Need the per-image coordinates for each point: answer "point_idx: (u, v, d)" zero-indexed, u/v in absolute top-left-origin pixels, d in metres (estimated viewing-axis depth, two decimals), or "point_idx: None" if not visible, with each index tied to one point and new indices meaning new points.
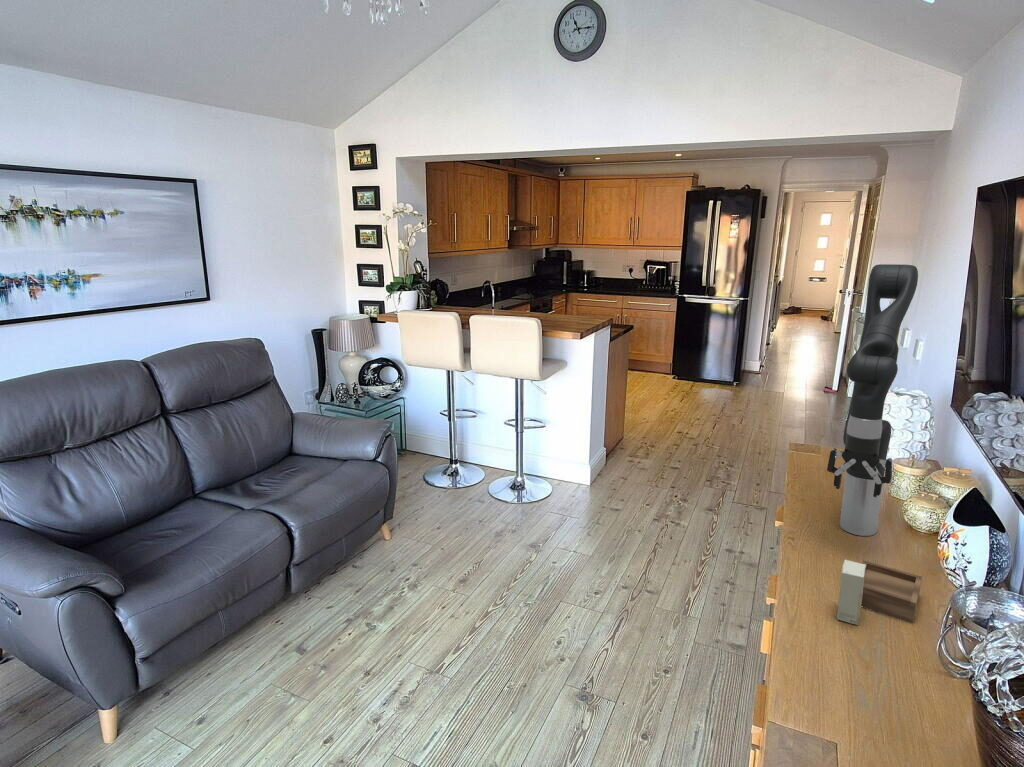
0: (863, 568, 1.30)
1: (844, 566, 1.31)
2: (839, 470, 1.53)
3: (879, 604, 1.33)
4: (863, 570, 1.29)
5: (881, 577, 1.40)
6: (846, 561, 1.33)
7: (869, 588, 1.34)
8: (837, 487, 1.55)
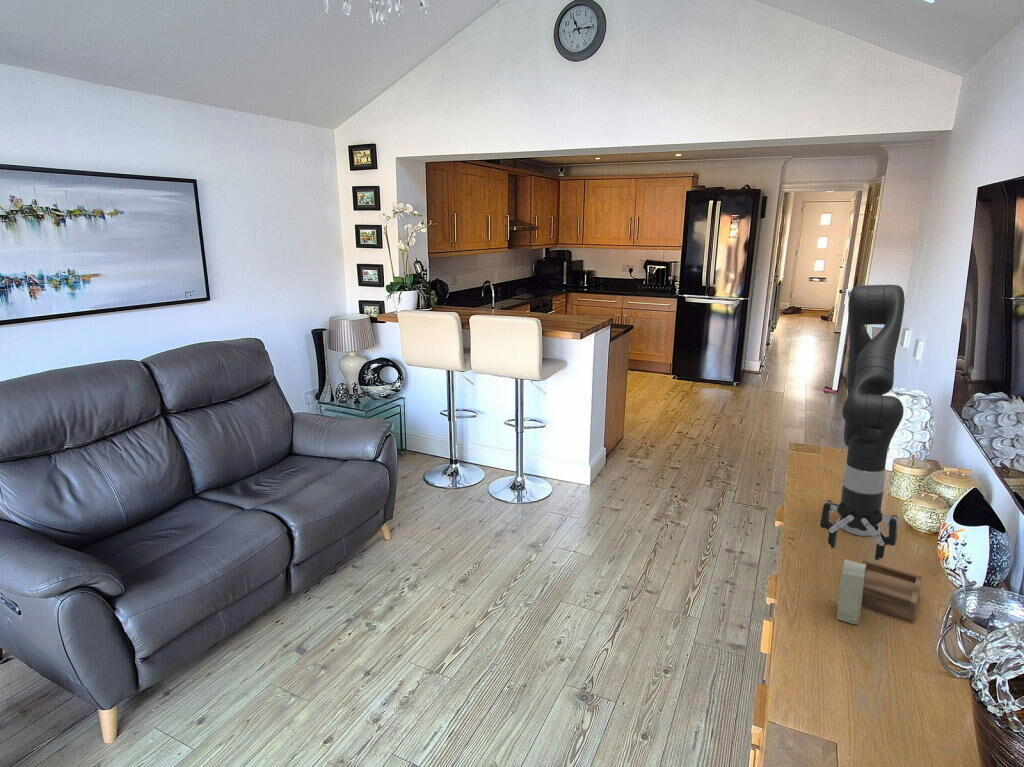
0: (863, 568, 1.30)
1: (844, 566, 1.31)
2: (834, 527, 1.29)
3: (879, 604, 1.33)
4: (863, 570, 1.29)
5: (881, 577, 1.40)
6: (846, 561, 1.33)
7: (869, 588, 1.34)
8: (832, 546, 1.31)
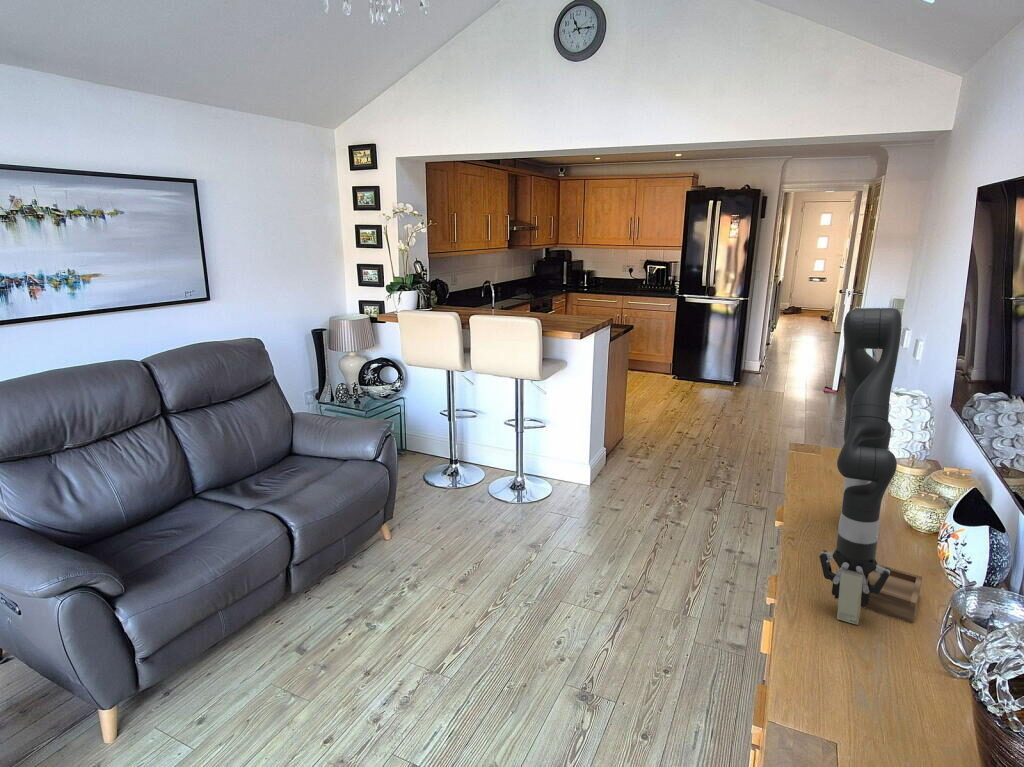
0: None
1: None
2: (838, 578, 1.31)
3: (879, 604, 1.33)
4: None
5: None
6: None
7: None
8: (836, 597, 1.33)
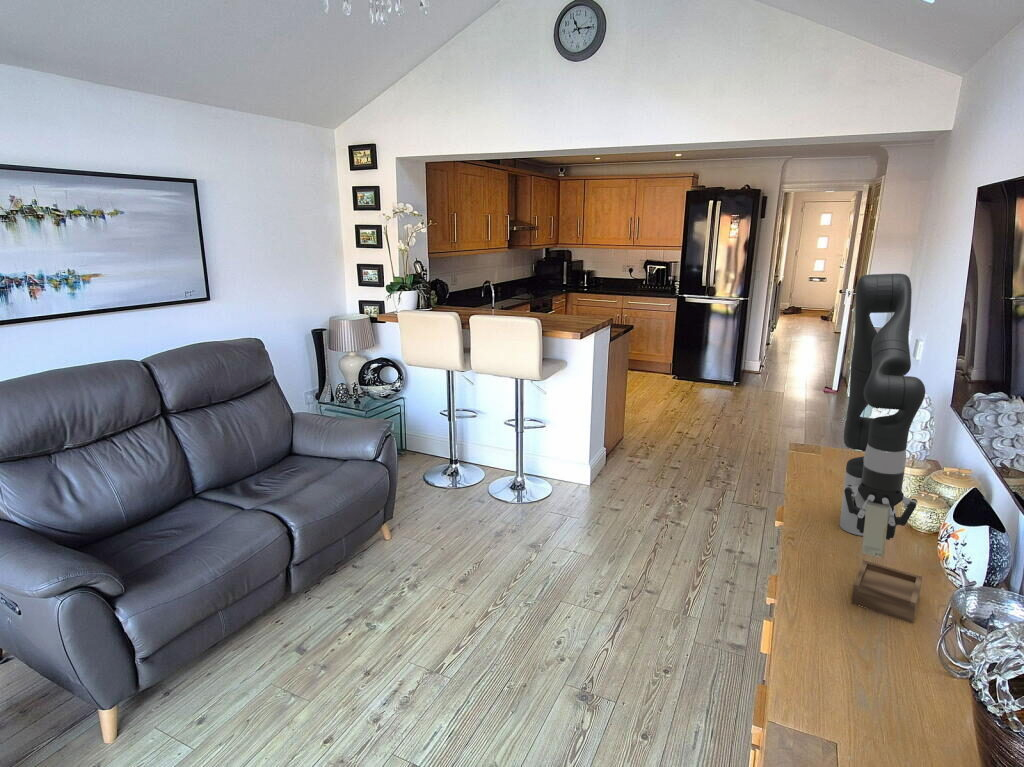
0: None
1: None
2: (863, 512, 1.30)
3: (878, 604, 1.33)
4: None
5: (881, 577, 1.40)
6: None
7: (869, 588, 1.34)
8: (861, 531, 1.32)
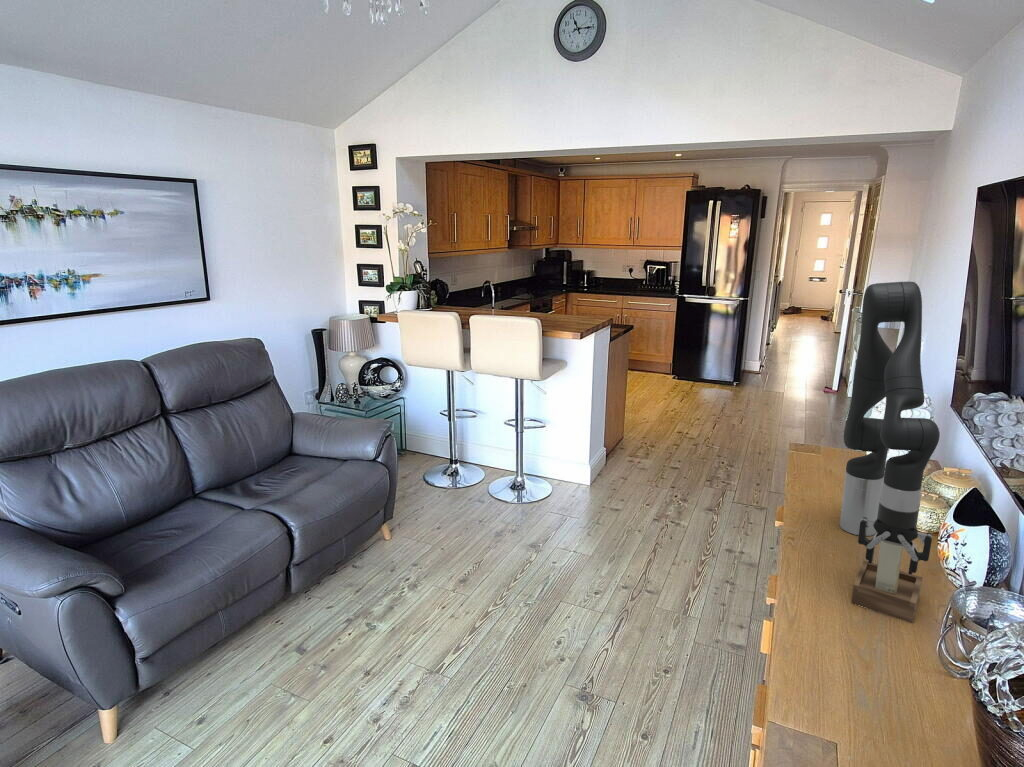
0: None
1: None
2: (872, 543, 1.36)
3: (878, 604, 1.33)
4: None
5: None
6: None
7: (869, 588, 1.34)
8: (870, 561, 1.37)
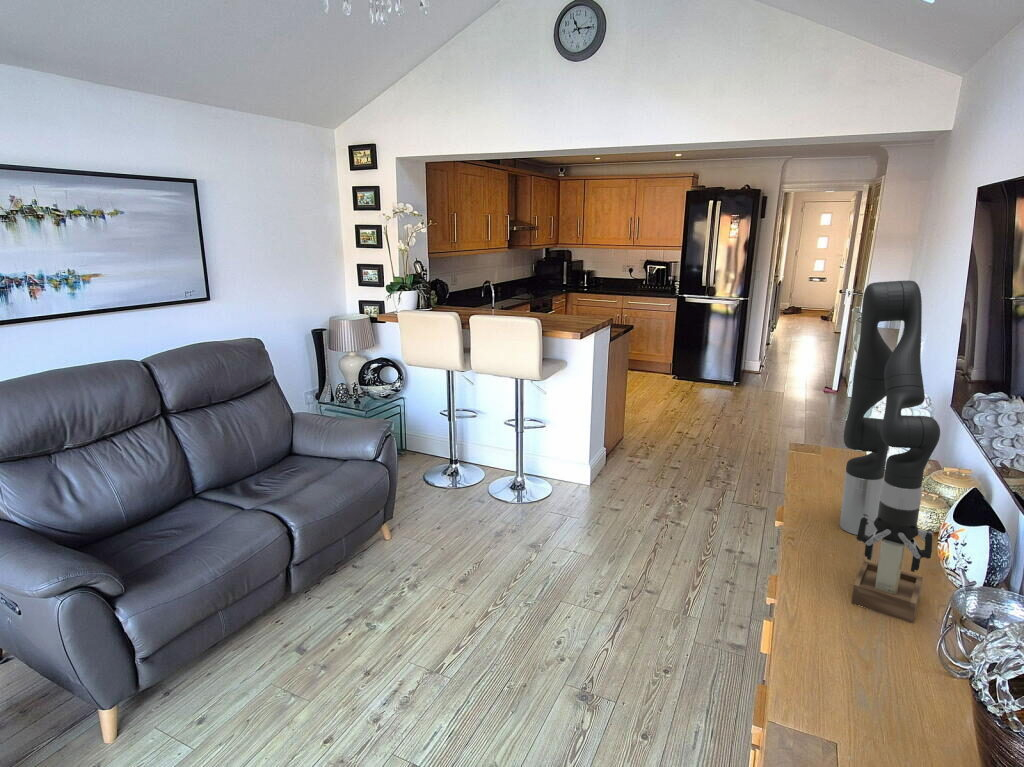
0: None
1: None
2: (871, 540, 1.36)
3: (879, 604, 1.33)
4: None
5: None
6: None
7: (869, 588, 1.34)
8: (869, 558, 1.37)
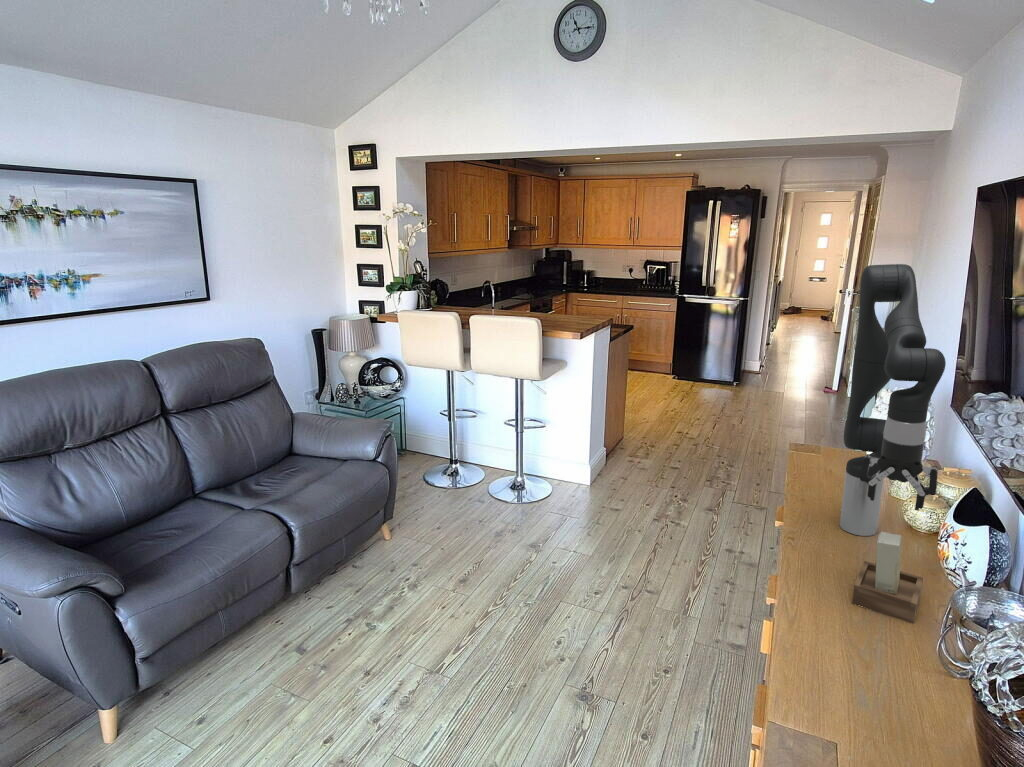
0: (899, 538, 1.34)
1: (880, 537, 1.35)
2: (874, 479, 1.33)
3: (879, 605, 1.33)
4: (899, 540, 1.33)
5: None
6: (882, 533, 1.37)
7: (869, 589, 1.34)
8: (872, 499, 1.34)
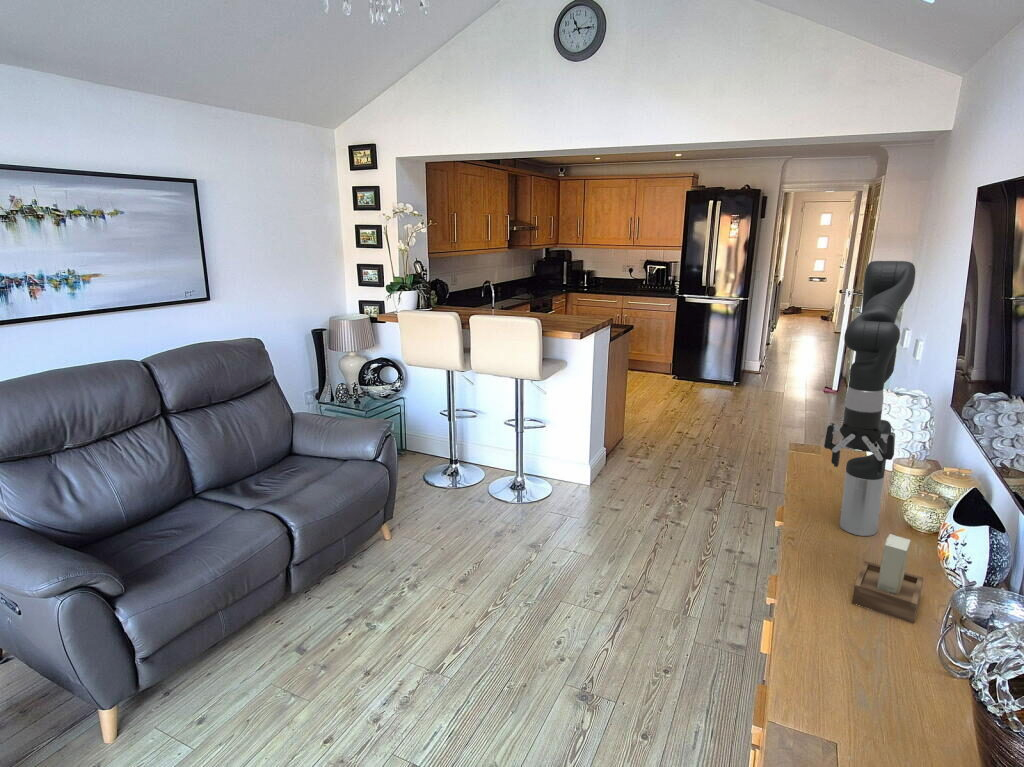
0: (907, 543, 1.33)
1: (888, 540, 1.34)
2: (837, 446, 1.42)
3: (879, 605, 1.33)
4: (907, 544, 1.32)
5: None
6: (891, 535, 1.36)
7: (870, 588, 1.34)
8: (835, 465, 1.43)
